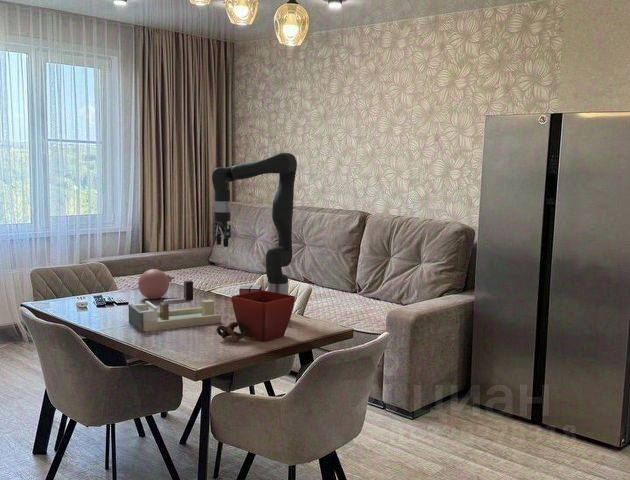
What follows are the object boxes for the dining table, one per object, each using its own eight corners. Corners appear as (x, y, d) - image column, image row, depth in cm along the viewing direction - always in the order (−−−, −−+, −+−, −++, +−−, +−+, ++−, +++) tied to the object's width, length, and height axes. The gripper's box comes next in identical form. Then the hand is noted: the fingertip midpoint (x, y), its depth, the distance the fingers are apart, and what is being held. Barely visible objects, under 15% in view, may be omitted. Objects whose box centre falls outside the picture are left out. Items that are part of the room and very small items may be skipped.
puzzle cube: (259, 309, 308) (259, 289, 307) (239, 308, 308) (239, 288, 307) (261, 304, 318) (261, 285, 317) (241, 304, 318) (242, 284, 317)
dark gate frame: (193, 317, 281) (193, 281, 279) (163, 320, 274) (163, 284, 272) (190, 315, 285) (189, 280, 283) (159, 318, 278) (159, 282, 276)
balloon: (182, 298, 329) (182, 269, 327) (147, 303, 315) (147, 272, 313) (167, 293, 340) (167, 265, 338) (133, 298, 326) (132, 268, 325)
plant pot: (262, 327, 274) (262, 289, 272) (295, 335, 262) (296, 296, 260) (229, 336, 259) (230, 296, 257) (263, 345, 247) (264, 303, 245)
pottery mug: (243, 336, 260) (248, 322, 256) (242, 352, 252) (248, 338, 248) (214, 330, 258) (219, 315, 253) (212, 346, 250) (218, 331, 246)
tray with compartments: (221, 322, 281) (221, 302, 279) (139, 332, 262) (139, 310, 261) (206, 313, 296) (206, 294, 295) (128, 322, 278) (128, 301, 276)
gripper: (236, 211, 288) (235, 247, 290) (224, 209, 300) (223, 243, 302) (220, 212, 284) (220, 248, 286) (209, 209, 296) (209, 244, 298)
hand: (222, 245), depth 294 cm, fingers open, 8 cm apart
